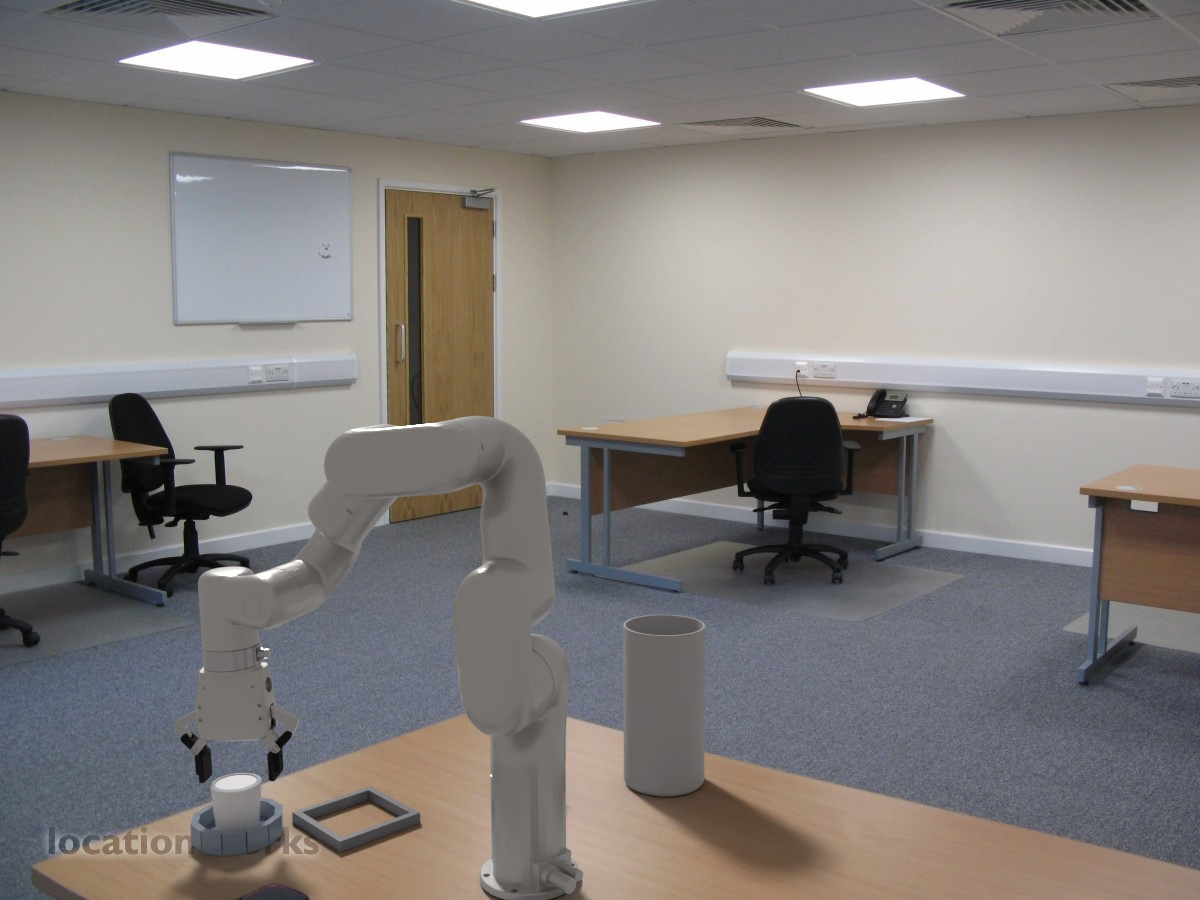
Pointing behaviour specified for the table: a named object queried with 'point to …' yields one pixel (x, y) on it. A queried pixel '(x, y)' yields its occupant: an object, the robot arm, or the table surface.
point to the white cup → (236, 801)
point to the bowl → (237, 831)
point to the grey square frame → (405, 820)
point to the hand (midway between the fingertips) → (240, 778)
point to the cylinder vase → (664, 704)
